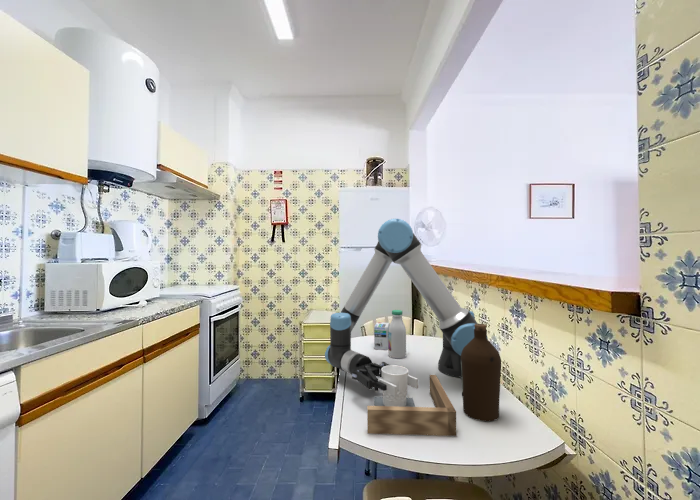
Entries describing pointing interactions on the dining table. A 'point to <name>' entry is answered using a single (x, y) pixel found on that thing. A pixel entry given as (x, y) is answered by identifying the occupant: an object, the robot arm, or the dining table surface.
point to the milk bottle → (397, 336)
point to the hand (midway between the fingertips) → (406, 387)
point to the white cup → (398, 378)
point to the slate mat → (379, 402)
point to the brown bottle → (481, 377)
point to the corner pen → (415, 416)
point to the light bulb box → (381, 335)
